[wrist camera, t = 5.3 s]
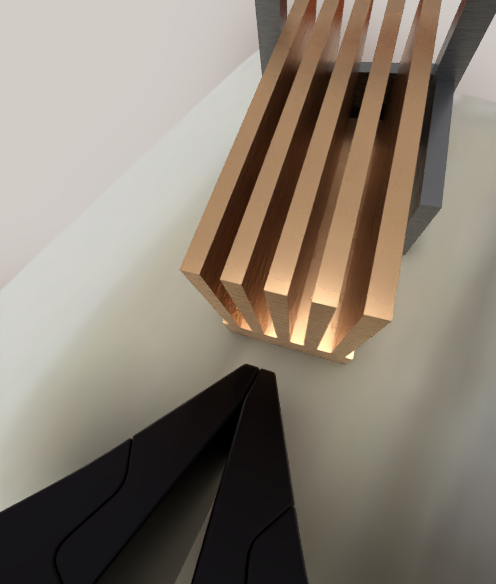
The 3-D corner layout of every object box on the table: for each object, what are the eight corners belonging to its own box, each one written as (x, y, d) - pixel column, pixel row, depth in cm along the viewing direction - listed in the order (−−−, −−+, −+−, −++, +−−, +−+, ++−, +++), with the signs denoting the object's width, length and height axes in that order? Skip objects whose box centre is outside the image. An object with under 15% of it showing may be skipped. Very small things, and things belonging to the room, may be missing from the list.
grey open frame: (408, 255, 15) (619, -4, 5) (235, 224, 17) (162, 9, 8) (425, 135, 17) (586, -184, 8) (273, 123, 20) (254, -131, 10)
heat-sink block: (344, 364, 13) (406, 324, 6) (231, 331, 15) (169, 267, 8) (387, 150, 18) (454, -28, 10) (295, 141, 19) (296, -20, 12)
